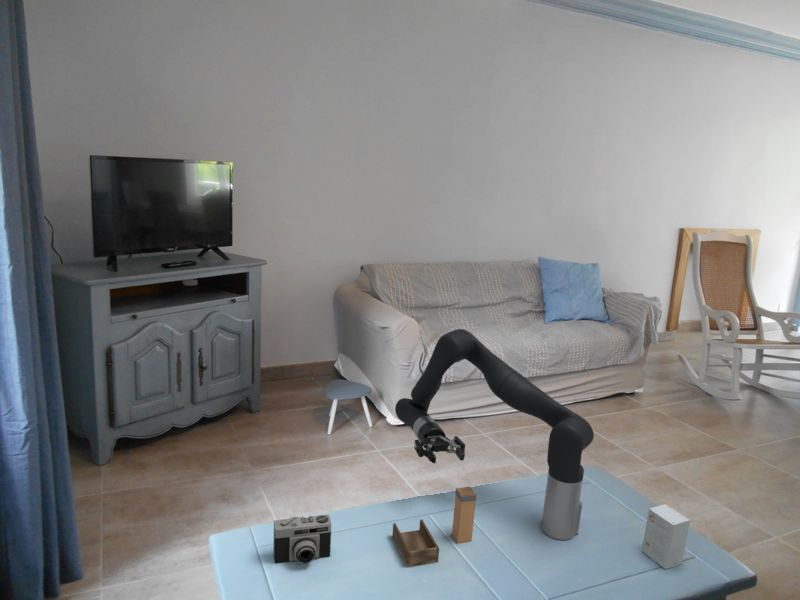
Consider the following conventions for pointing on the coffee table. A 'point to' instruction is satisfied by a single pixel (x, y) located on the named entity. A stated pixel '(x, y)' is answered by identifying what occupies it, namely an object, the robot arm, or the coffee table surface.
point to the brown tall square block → (464, 514)
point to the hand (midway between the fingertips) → (448, 459)
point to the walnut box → (416, 545)
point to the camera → (302, 539)
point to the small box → (665, 536)
